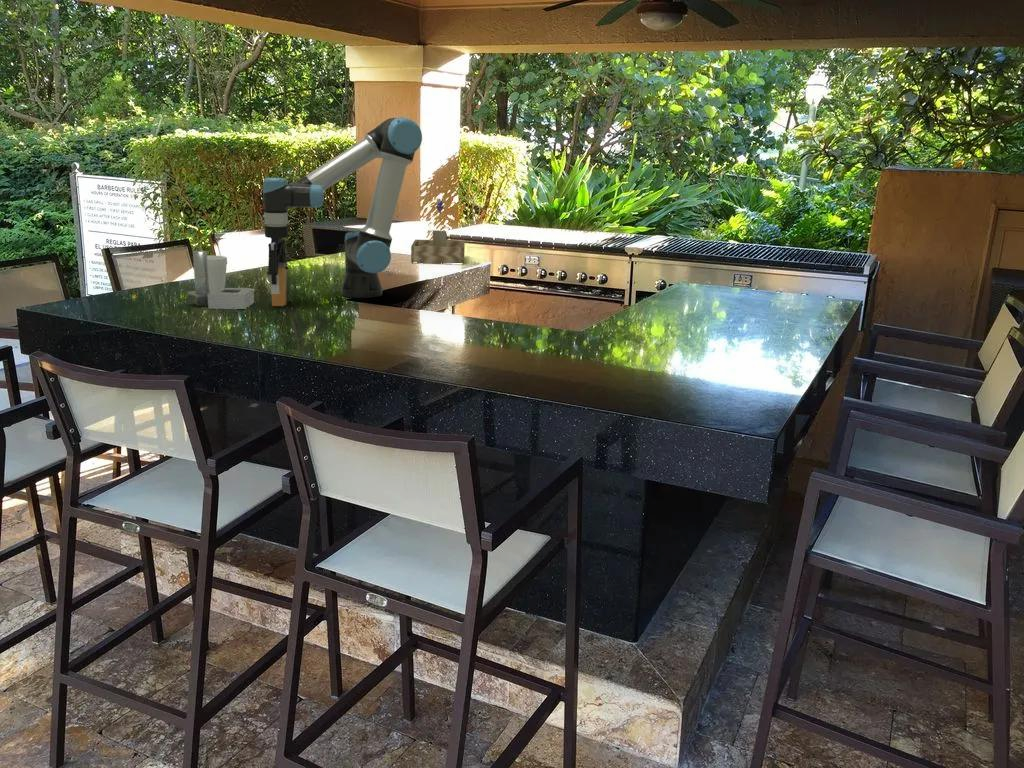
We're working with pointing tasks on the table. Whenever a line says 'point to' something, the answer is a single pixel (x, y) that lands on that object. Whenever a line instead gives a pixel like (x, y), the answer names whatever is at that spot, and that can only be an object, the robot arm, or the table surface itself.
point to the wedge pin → (280, 287)
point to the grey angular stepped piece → (219, 296)
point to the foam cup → (216, 271)
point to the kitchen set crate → (437, 252)
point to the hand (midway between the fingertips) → (278, 291)
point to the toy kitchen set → (438, 239)
